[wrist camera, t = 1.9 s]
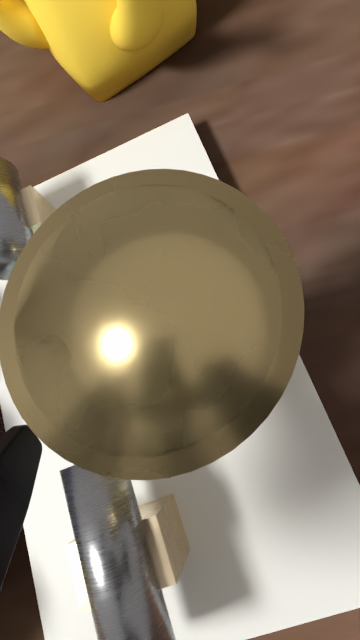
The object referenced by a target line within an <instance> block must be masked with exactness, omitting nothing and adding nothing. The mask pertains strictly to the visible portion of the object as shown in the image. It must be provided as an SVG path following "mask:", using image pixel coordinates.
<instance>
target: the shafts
mask: <svg viewBox="0 0 360 640" xmlns="http://www.w3.org/2000/svg"><path fill="white" fill-rule="evenodd" d="M55 210H57V209H56V208H55V207H53V206H52V205H51V204H50V203H49V202H48V201H47V200H46V199H45V198H44V197H43V196H42V195H41V194H40V193H39V192H38V191H37V190H36V189H35V188H34V187H33V186H31V185H30V186H28V187H26V188H24V189H22V186H21V182H20V178H19V175H18V171H17V169H16V167H15V166H14V165H13V164H12V163H11V162H9V161H8V160H6V159H4V158H1V157H0V280H8V279H9V276H10V273H11V271H12V269H13V267H14V265H15V263H16V261H17V258H18V257H19V255H20V253H21V252H22V250H23V248H24V247H25V245H26V243H27V242H28V241H29V239H30V238H31V237H32V235H33V234H34V233H35V231H36V230H37V229H38V227H39V226H40V225H41V224H42V223H43V222H44V221H45V220H46V219H47V218H48V217H49V216H50V215H51V214H52V213H53V212H54V211H55ZM59 472H60V476H61V480H62V485H63V489H64V494H65V498H66V502H67V507H68V511H69V516H70V520H71V525H72V529H73V533H74V539H73V540H72V541H70V542H69V543H68V544H67V545H65V547H66V551H67V556H68V561H69V565H70V570H71V574H72V579H73V584H74V588H75V593H76V597H77V602H78V607H79V611H80V614H81V613H85V612H88V611H91V613H92V617H93V622H94V626H95V631H96V635H97V639H98V640H176V638H175V635H174V631H173V628H172V624H171V620H170V617H169V613H168V610H167V606H166V603H165V599H164V596H163V592H162V589H163V588H166V587H169V586H172V585H176V584H177V581H178V579H179V576H180V574H181V571H182V569H183V566H184V564H185V561H186V559H187V556H188V554H189V551H190V546H189V542H188V539H187V536H186V533H185V530H184V526H183V523H182V520H181V517H180V514H179V510H178V507H177V504H176V501H175V498H174V494H171V495H168V496H165V497H162V498H159V499H156V500H153V501H150V502H147V503H144V504H141V505H138V503H137V500H136V496H135V493H134V489H133V485H132V482H131V480H123V479H118V478H112V477H107V476H102V475H99V474H96V473H93V472H90V471H88V470H85V469H82V468H80V467H78V466H76V465H73V466H70V467H67V468H65V469H62V470H60V471H59Z"/></svg>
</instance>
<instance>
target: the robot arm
mask: <svg viewBox="0 0 360 640" xmlns="http://www.w3.org/2000/svg"><path fill="white" fill-rule="evenodd" d="M41 454H42V443H41V441H40V440H39V438H38V437H37V436H36V435H35V434H34V433H33V432H32V430H31V429H30V428H29V426H28V425H16V426H13V427H11V428H10V429H9V430H7V431H6V432H5V433H4V434H3V435H2V436H0V591H1V588H2V585H3V582H4V579H5V576H6V573H7V570H8V567H9V564H10V561H11V558H12V555H13V552H14V549H15V546H16V544H17V541H18V538H19V535H20V532H21V529H22V526H23V523H24V520H25V517H26V514H27V511H28V507H29V504H30V500H31V496H32V492H33V488H34V484H35V479H36V475H37V471H38V467H39V463H40V459H41Z"/></svg>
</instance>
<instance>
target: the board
mask: <svg viewBox="0 0 360 640" xmlns="http://www.w3.org/2000/svg"><path fill="white" fill-rule="evenodd" d="M147 169H176V170H185V171H190V172H195V173H199V174H203V175H206V176H209V177H212V178H215V179H217V180H219V179H218V177H217V175H216V173H215V171H214V168H213V166H212V164H211V162H210V160H209V158H208V155H207V153H206V151H205V149H204V147H203V145H202V142H201V140H200V138H199V136H198V134H197V132H196V129H195V127H194V125H193V123H192V121H191V119H190V116H189V114H188V113H187V114H185V115H183V116H181V117H179V118H177V119H175V120H172V121H170V122H168V123H166V124H164V125H162V126H160V127H158V128H156V129H154V130H152V131H150V132H147V133H145V134H143V135H141V136H139V137H137V138H135V139H133V140H131V141H129V142H127V143H124V144H122V145H120V146H118V147H116V148H114V149H112V150H110V151H108V152H106V153H104V154H101V155H99V156H97V157H95V158H93V159H91V160H89V161H87V162H85V163H83V164H81V165H79V166H76V167H74V168H72V169H70V170H68V171H66V172H64V173H62V174H60V175H58V176H56V177H53V178H51V179H49V180H47V181H45V182H43V183H41V184H39V185H37V186H35V187H34V188H35V189H36V190H37V191H38V192H39V193H40V194H41V195H42V196H43V197H44V198H45V199H46V200H47V201H48V202H49V203H50V204H51V205H52V206H53V207H55V208H56V209H58V208H59V207H60V206H61V205H62V204H64V203H65V202H66V201H68V200H69V199H71V198H72V197H74V196H75V195H76V194H78V193H79V192H81V191H83V190H85V189H87V188H89V187H90V186H92V185H94V184H96V183H99V182H101V181H104V180H106V179H109V178H111V177H114V176H118V175H121V174H125V173H128V172H134V171H140V170H147ZM7 282H8V280H0V308H1V303H2V299H3V294H4V291H5V288H6V285H7ZM0 405H1V411H2V416H3V421H4V427H5V432H6V431H7V430H9V429H10V428H11V427H13V426H16V425H27V424H26V422H25V421H24V420H23V419H22V417H21V415H20V413H19V412H18V410H17V408H16V406H15V405H14V403H13V401H12V399H11V396H10V394H9V391H8V389H7V386H6V384H5V380H4V376H3V372H2V368H1V364H0ZM39 440H40V439H39ZM40 441H41V440H40ZM41 443H42V454H41V459H40V463H39V467H38V471H37V475H36V479H35V484H34V488H33V492H32V496H31V500H30V504H29V507H28V511H27V514H26V517H25V520H24V523H23V527H24V532H25V538H26V543H27V548H28V553H29V559H30V564H31V569H32V575H33V580H34V585H35V590H36V596H37V601H38V606H39V611H40V617H41V622H42V627H43V633H44V638H45V640H98V639H97V635H96V631H95V626H94V622H93V617H92V613H91V611H88V612H85V613H81V614H80V611H79V607H78V602H77V597H76V593H75V588H74V584H73V579H72V574H71V570H70V565H69V561H68V556H67V551H66V547H65V545H67V544H68V543H69V542H70V541H72V540H73V539H74V533H73V529H72V525H71V520H70V516H69V511H68V507H67V502H66V498H65V494H64V489H63V485H62V480H61V476H60V472H59V471H60V470H62V469H65V468H67V467H70V466H73V465H74V464H73V463H71V462H69V461H67V460H65V459H63V458H62V457H61V456H59V455H58V454H57V453H55V452H54V451H52V450H51V449H50V448H48V447H47V446H46V445H45V444H44V443H43V442H42V441H41ZM131 482H132V485H133V489H134V493H135V496H136V500H137V503H138V505H141V504H144V503H147V502H150V501H153V500H156V499H159V498H162V497H165V496H168V495H171V494H174V498H175V501H176V504H177V507H178V510H179V514H180V517H181V520H182V523H183V526H184V530H185V533H186V536H187V539H188V542H189V546H190V551H189V554H188V556H187V559H186V561H185V564H184V566H183V569H182V571H181V574H180V576H179V579H178V581H177V584H176V585H172V586H169V587H166V588H163V589H162V592H163V596H164V599H165V603H166V606H167V610H168V613H169V617H170V620H171V624H172V628H173V631H174V635H175V638H176V640H246V639H250V638H253V637H257V636H260V635H264V634H268V633H271V632H275V631H278V630H282V629H285V628H289V627H293V626H296V625H300V624H303V623H307V622H310V621H314V620H317V619H321V618H325V617H328V616H332V615H335V614H339V613H342V612H346V611H350V610H353V609H357V608H360V485H359V483H358V481H357V478H356V476H355V474H354V472H353V470H352V468H351V465H350V463H349V461H348V459H347V457H346V455H345V452H344V450H343V448H342V446H341V444H340V442H339V439H338V437H337V435H336V433H335V431H334V429H333V426H332V424H331V422H330V420H329V418H328V416H327V413H326V411H325V409H324V407H323V405H322V403H321V400H320V398H319V396H318V394H317V392H316V390H315V387H314V385H313V383H312V381H311V379H310V377H309V374H308V372H307V370H306V368H305V366H304V364H303V361H302V359H301V357H300V355H299V356H298V359H297V362H296V365H295V368H294V371H293V374H292V377H291V379H290V381H289V383H288V385H287V387H286V389H285V391H284V393H283V395H282V397H281V398H280V400H279V401H278V403H277V404H276V406H275V407H274V409H273V410H272V412H271V413H270V415H269V416H268V417H267V418H266V420H265V421H264V422H263V423H262V424H261V425H260V426H259V427H258V428H257V429H256V430H255V432H254V433H253V434H252V435H251V436H249V437H248V438H247V439H246V440H245V441H243V442H242V443H241V444H240V445H239V446H237V447H236V448H235V449H234V450H232V451H231V452H229V453H227V454H226V455H224V456H223V457H221V458H219V459H218V460H216V461H214V462H213V463H210V464H208V465H206V466H204V467H201V468H199V469H197V470H194V471H192V472H189V473H185V474H181V475H177V476H174V477H170V478H163V479H154V480H131Z"/></svg>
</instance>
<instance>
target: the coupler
mask: <svg viewBox="0 0 360 640" xmlns="http://www.w3.org/2000/svg"><path fill="white" fill-rule="evenodd" d="M303 331H304V299H303V289H302V284H301V280H300V276H299V272H298V268H297V264H296V262H295V260H294V257H293V255H292V252H291V250H290V247H289V245H288V244H287V242H286V240H285V239H284V237H283V235H282V234H281V232H280V230H279V228H278V227H277V226H276V225H275V224H274V222H273V221H272V220H271V219H270V217H269V216H268V215H267V214H266V213H265V212H264V211H263V210H262V209H261V208H260V207H259V206H258V205H257V204H256V203H255V202H254V201H253V200H251V199H250V198H249V197H247V196H246V195H244V194H243V193H241V192H240V191H239V190H237V189H236V188H234V187H232V186H230V185H228V184H226V183H224V182H222V181H220V180H217V179H215V178H212V177H209V176H206V175H203V174H199V173H195V172H190V171H185V170H176V169H147V170H140V171H134V172H128V173H125V174H121V175H118V176H114V177H111V178H109V179H106V180H104V181H101V182H99V183H96V184H94V185H92V186H90V187H89V188H87V189H85V190H83V191H81V192H79V193H78V194H76V195H75V196H74V197H72V198H71V199H69V200H68V201H66V202H65V203H64V204H62V205H61V206H60V207H59V208H58V209H57V210H55V211H54V212H53V213H52V214H51V215H50V216H49V217H48V218H47V219H46V220H45V221H44V222H43V223H42V224H41V225H40V226H39V227H38V229H37V230H36V231H35V233H34V234H33V235H32V237H31V238H30V239H29V241H28V242H27V243H26V245H25V247H24V248H23V250H22V252H21V253H20V255H19V257H18V258H17V261H16V263H15V265H14V267H13V269H12V271H11V273H10V276H9V279H8V282H7V285H6V288H5V291H4V294H3V299H2V303H1V308H0V364H1V368H2V372H3V376H4V380H5V384H6V386H7V389H8V391H9V394H10V396H11V399H12V401H13V403H14V405H15V406H16V408H17V410H18V412H19V413H20V415H21V417H22V419H23V420H24V421H25V422H26V424H27V425H28V426H29V428H30V429H31V430H32V432H33V433H34V434H35V435H36V436H37V437H38V438H39V439H40V440H41V441H42V442H43V443H44V444H45V445H46V446H47V447H48V448H50V449H51V450H52V451H54V452H55V453H57V454H58V455H59V456H61V457H62V458H63V459H65V460H67V461H69V462H71V463H73V464H74V465H76V466H78V467H80V468H82V469H85V470H88V471H90V472H93V473H96V474H99V475H102V476H107V477H112V478H118V479H123V480H154V479H163V478H170V477H174V476H177V475H181V474H185V473H189V472H192V471H194V470H197V469H199V468H201V467H204V466H206V465H208V464H210V463H213V462H214V461H216V460H218V459H219V458H221V457H223V456H224V455H226V454H227V453H229V452H231V451H232V450H234V449H235V448H236V447H237V446H239V445H240V444H241V443H242V442H243V441H245V440H246V439H247V438H248V437H249V436H251V435H252V434H253V433H254V432H255V430H256V429H257V428H258V427H259V426H260V425H261V424H262V423H263V422H264V421H265V420H266V418H267V417H268V416H269V415H270V413H271V412H272V410H273V409H274V407H275V406H276V404H277V403H278V401H279V400H280V398H281V397H282V395H283V393H284V391H285V389H286V387H287V385H288V383H289V381H290V379H291V377H292V374H293V371H294V368H295V365H296V362H297V359H298V356H299V353H300V348H301V342H302V337H303Z"/></svg>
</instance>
